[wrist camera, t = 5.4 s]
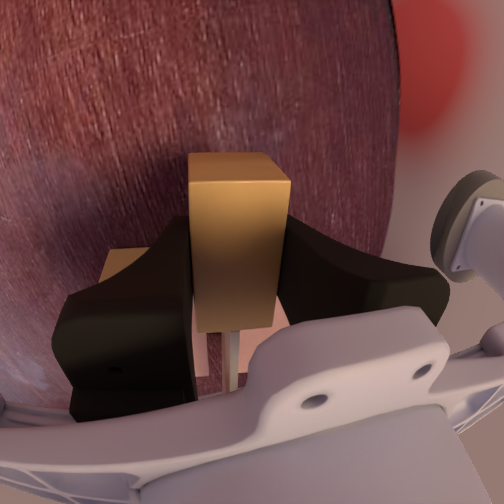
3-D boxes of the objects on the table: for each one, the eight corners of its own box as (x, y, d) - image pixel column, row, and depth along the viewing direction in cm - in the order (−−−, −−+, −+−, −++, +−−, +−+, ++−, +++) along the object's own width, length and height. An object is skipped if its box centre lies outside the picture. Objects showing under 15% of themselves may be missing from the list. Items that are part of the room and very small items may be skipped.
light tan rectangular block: (280, 240, 21) (302, 280, 17) (270, 325, 25) (284, 367, 21) (221, 242, 20) (230, 285, 16) (221, 329, 24) (229, 374, 21)
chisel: (188, 152, 11) (188, 182, 8) (264, 151, 12) (291, 180, 9) (202, 386, 19) (208, 431, 16) (246, 382, 20) (256, 425, 17)
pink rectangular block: (199, 243, 20) (203, 287, 16) (204, 330, 24) (209, 376, 20) (109, 248, 19) (94, 292, 15) (130, 334, 23) (125, 379, 19)
